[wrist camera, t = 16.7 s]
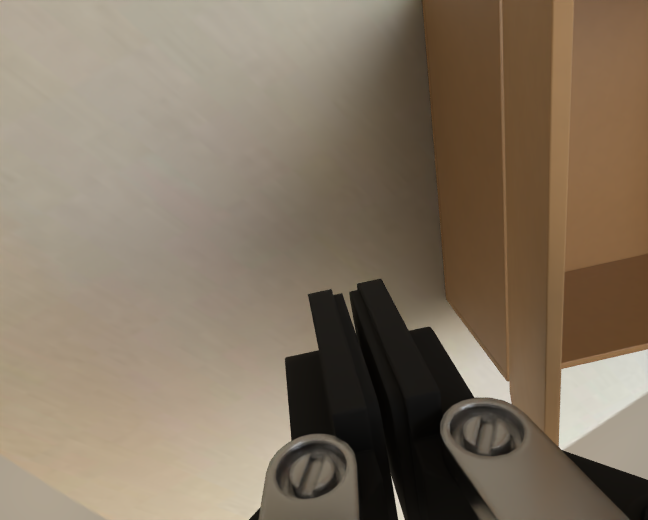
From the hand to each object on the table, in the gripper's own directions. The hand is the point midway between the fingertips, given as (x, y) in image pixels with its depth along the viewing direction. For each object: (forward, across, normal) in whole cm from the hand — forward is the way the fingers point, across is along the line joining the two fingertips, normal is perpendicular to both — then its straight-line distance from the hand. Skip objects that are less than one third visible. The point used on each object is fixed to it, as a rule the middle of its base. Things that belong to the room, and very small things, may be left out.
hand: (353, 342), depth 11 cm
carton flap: (+1, -5, 0) cm, 5 cm away
